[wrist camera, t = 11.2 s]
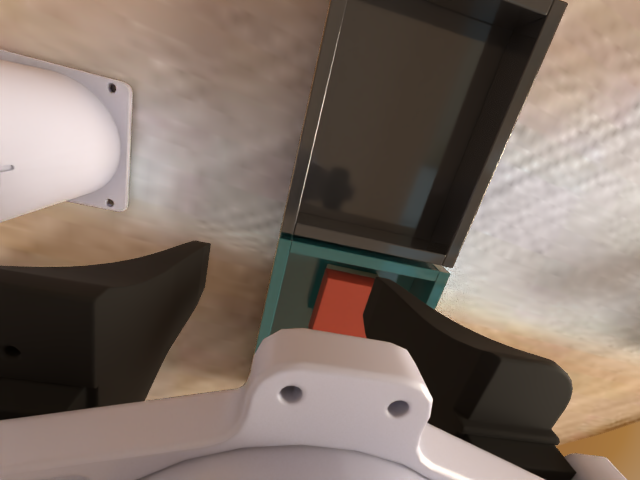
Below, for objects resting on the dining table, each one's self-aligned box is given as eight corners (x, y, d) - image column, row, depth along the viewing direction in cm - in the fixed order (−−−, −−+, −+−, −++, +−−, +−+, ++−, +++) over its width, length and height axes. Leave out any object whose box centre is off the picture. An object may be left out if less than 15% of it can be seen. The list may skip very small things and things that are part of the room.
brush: (290, 374, 26) (289, 409, 23) (324, 260, 22) (328, 282, 19) (341, 382, 27) (347, 417, 24) (382, 272, 23) (395, 296, 20)
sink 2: (283, 216, 22) (280, 232, 19) (338, -42, 17) (348, -81, 14) (431, 249, 23) (452, 268, 20) (522, 23, 18) (569, 2, 15)
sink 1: (247, 382, 27) (240, 416, 24) (281, 221, 22) (279, 238, 19) (371, 398, 28) (380, 433, 25) (430, 253, 24) (450, 273, 20)
